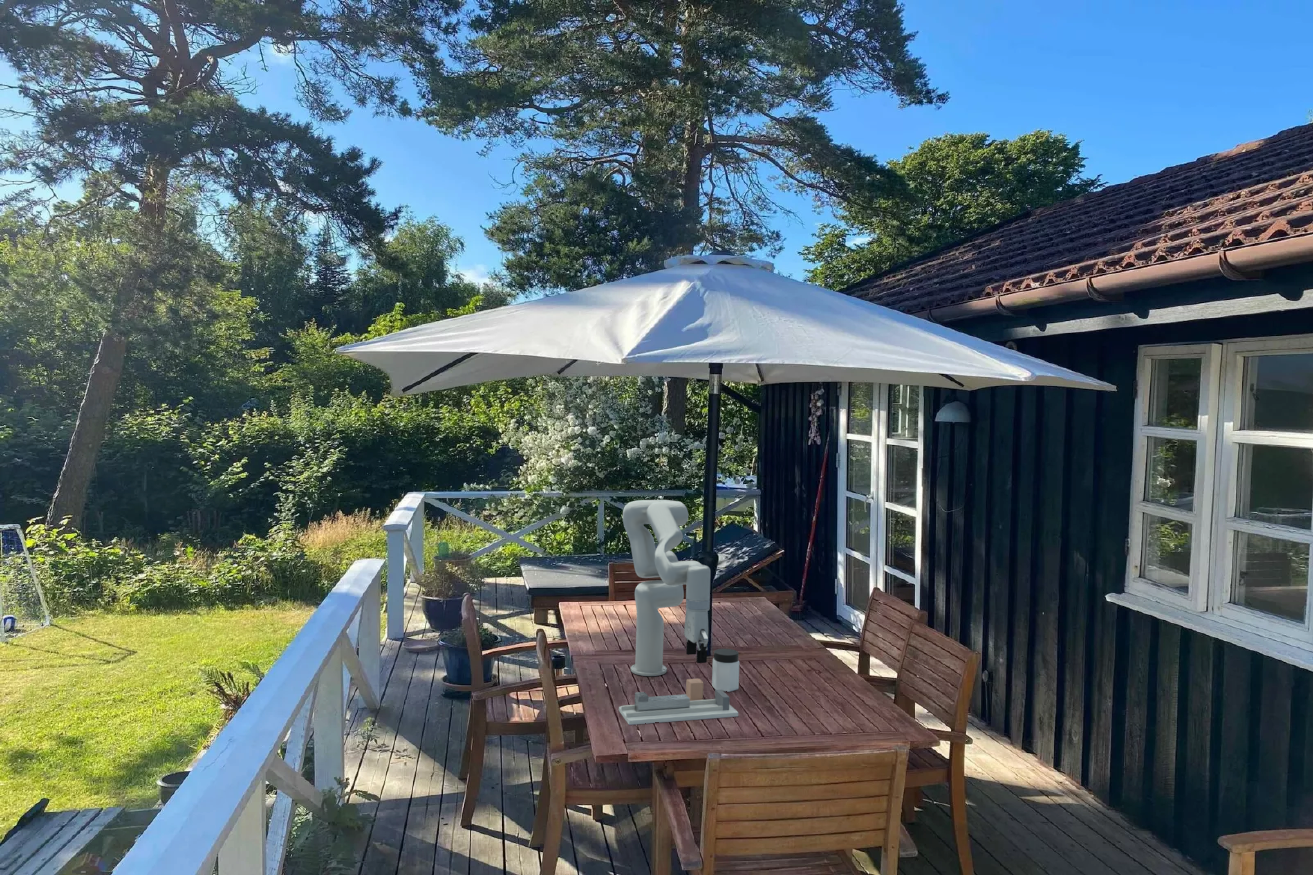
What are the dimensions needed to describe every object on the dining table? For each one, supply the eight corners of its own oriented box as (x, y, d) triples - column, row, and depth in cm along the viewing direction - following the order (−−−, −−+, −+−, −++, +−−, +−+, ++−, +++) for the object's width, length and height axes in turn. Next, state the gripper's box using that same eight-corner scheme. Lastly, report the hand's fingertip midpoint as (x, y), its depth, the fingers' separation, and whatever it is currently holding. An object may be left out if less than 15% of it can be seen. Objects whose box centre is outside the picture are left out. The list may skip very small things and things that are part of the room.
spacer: (685, 697, 274) (686, 679, 274) (698, 697, 275) (698, 678, 275) (690, 702, 270) (690, 683, 270) (702, 701, 271) (703, 682, 271)
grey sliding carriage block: (634, 709, 257) (635, 692, 257) (685, 706, 262) (685, 689, 262) (638, 714, 253) (638, 696, 253) (689, 710, 258) (689, 693, 258)
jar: (725, 682, 291) (726, 646, 291) (743, 688, 285) (744, 652, 285) (706, 687, 285) (708, 651, 285) (725, 693, 279) (726, 657, 279)
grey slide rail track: (618, 710, 260) (619, 693, 260) (723, 703, 270) (724, 686, 270) (629, 724, 249) (629, 707, 248) (738, 716, 258) (738, 699, 258)
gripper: (677, 599, 279) (676, 651, 279) (695, 610, 262) (694, 666, 262) (699, 598, 281) (698, 650, 281) (718, 609, 264) (717, 665, 264)
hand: (696, 658), depth 272 cm, fingers open, 9 cm apart
